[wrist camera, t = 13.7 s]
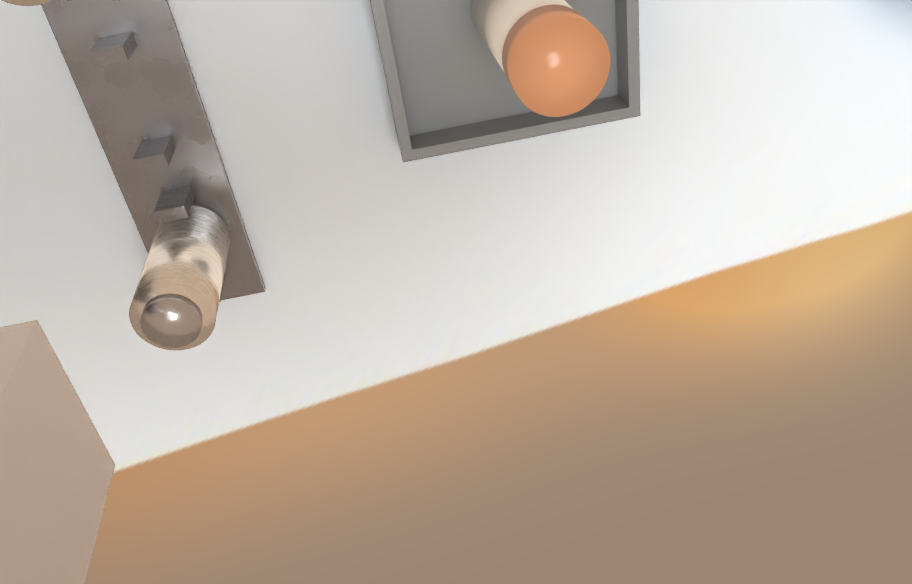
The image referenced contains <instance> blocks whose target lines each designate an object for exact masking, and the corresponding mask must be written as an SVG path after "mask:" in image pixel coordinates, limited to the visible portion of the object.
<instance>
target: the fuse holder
mask: <svg viewBox="0 0 912 584" xmlns="http://www.w3.org/2000/svg"><path fill="white" fill-rule="evenodd" d="M2 1H5V2H7V3H11V4H15V5H21V6H34V5H40V4H41V5H42V8H43V10H44V12H45V14H46V17H47V19H48V21H49V24H50V26H51V28H52V31H53V33H54V35H55V38H56V40H57V42H58V45H59V47H60V49H61V52H62V54H63V56H64V59H65V61H66V63H67V66H68V68H69V70H70V73H71V75H72V77H73V80H74V82H75V84H76V87H77V89H78V91H79V94H80V96H81V98H82V101H83V103H84V105H85V108H86V110H87V112H88V114H89V117H90V119H91V121H92V124H93V126H94V128H95V131H96V133H97V135H98V138H99V140H100V142H101V145H102V147H103V149H104V152H105V154H106V156H107V159H108V161H109V163H110V166H111V168H112V170H113V173H114V175H115V177H116V180H117V182H118V184H119V187H120V189H121V191H122V194H123V196H124V198H125V201H126V203H127V205H128V207H129V210H130V212H131V214H132V217H133V219H134V221H135V224H136V226H137V228H138V231H139V233H140V235H141V238H142V240H143V242H144V245H145V247H146V249H147V252H148V257H147V260H146V263H145V265H144V268H143V271H142V274H141V277H140V280H139V283H138V286H137V288H136V291H135V294H134V297H133V300H132V303H131V306H130V310H129V317H130V322H131V324H132V327H133V328H134V330H135V331H136V333H137V334H138V335H139V336H140V337H141V338H142V339H144V340H145V341H146V342H148V343H150V344H152V345H154V346H156V347H159V348H163V349H168V350H185V349H189V348H193V347H195V346H197V345H199V344H201V343H202V342H204V341H205V340H206V339H207V338H208V337H209V336H210V335H211V333H212V331H213V329H214V326H215V321H216V316H217V310H218V305H219V302H221V300H225V299H230V298H235V297H240V296H245V295H250V294H255V293H260V292H265V286H264V283H263V280H262V277H261V274H260V272H259V269H258V266H257V263H256V260H255V257H254V254H253V251H252V248H251V245H250V242H249V239H248V236H247V234H246V231H245V228H244V225H243V222H242V219H241V216H240V213H239V210H238V207H237V204H236V201H235V198H234V195H233V193H232V190H231V187H230V184H229V181H228V178H227V175H226V172H225V169H224V166H223V163H222V160H221V157H220V155H219V152H218V149H217V146H216V143H215V140H214V137H213V134H212V131H211V128H210V125H209V122H208V119H207V117H206V114H205V111H204V108H203V105H202V102H201V99H200V96H199V93H198V90H197V87H196V84H195V81H194V79H193V76H192V73H191V70H190V67H189V64H188V61H187V58H186V55H185V52H184V49H183V46H182V43H181V41H180V38H179V35H178V32H177V29H176V26H175V23H174V20H173V17H172V14H171V11H170V8H169V5H168V3H167V0H2Z"/></svg>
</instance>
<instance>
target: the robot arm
mask: <svg viewBox="0 0 912 584" xmlns="http://www.w3.org/2000/svg"><path fill="white" fill-rule="evenodd" d="M114 468H115V463H114V462H113V460H112V458H111V456H110V454H109V452H108V450H107V449H106V447H105V445H104V443H103V441H102V439H101V438H100V436H99V434H98V432H97V430H96V428H95V426H94V425H93V423H92V421H91V419H90V417H89V415H88V413H87V412H86V410H85V408H84V406H83V404H82V402H81V400H80V399H79V397H78V395H77V393H76V391H75V389H74V387H73V386H72V384H71V382H70V380H69V378H68V376H67V374H66V373H65V371H64V369H63V367H62V365H61V363H60V361H59V360H58V358H57V356H56V354H55V352H54V350H53V349H52V347H51V345H50V343H49V341H48V339H47V337H46V336H45V334H44V332H43V330H42V328H41V326H40V324H39V323H38V321H37V320H36V321H31V322H26V323H20V324H15V325H10V326H5V327H0V584H84V583H85V579H86V575H87V571H88V567H89V563H90V560H91V556H92V552H93V548H94V544H95V541H96V537H97V533H98V529H99V525H100V521H101V518H102V513H103V510H104V506H105V502H106V498H107V495H108V491H109V487H110V483H111V479H112V475H113V472H114Z"/></svg>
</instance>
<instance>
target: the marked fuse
mask: <svg viewBox="0 0 912 584" xmlns="http://www.w3.org/2000/svg"><path fill="white" fill-rule="evenodd" d="M471 16H472V20H473V23H474V25H475V27H476V29H477V31H478V32H479V34H480V35H481V37H482V39H483V40H484V42H485V43H486V45H487V46H488V48H489V49H490V51H491V53H492V54H493V56H494V57H495V59H496V60H497V62H498V64H499V65H500V67H501V68H502V70H503V71H504V73H505V76H506V78H507V80H508V81H509V83H510V84H511V86H512V88H513V89H514V91H515V92H516V94H517V95H518V97H519V98H520V100H521V101H522V102H523V104H524V105H525V106H526V107H528V108H529V109H530V110H532V111H534V112H535V113H538V114H540V115H544V116H548V117H562V116H567V115H571V114H573V113H576V112H578V111H580V110H582V109H583V108H585V107H586V106H588V105H589V104H590V103H591V102H592V101H593V100H594V99H595V98H596V97H597V96H598V95H599V93H600V92H601V90H602V89H603V87H604V85H605V83H606V80H607V78H608V74H609V69H610V52H609V48H608V45H607V43H606V40H605V39H604V37H603V35H602V34H601V33H600V31H599V30H598V29H597V28H596V27H594V26H593V25H592V24H591V23H590V22H589V21H588V20H587V19H586V18H585V17H584V16H582V15H581V14H580V13H579V12H577V11H576V10H574V9H573V8H572V7H571V6H570V5H569V4H568V3H567V2H566V1H564V0H471Z"/></svg>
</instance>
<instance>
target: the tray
mask: <svg viewBox="0 0 912 584" xmlns="http://www.w3.org/2000/svg"><path fill="white" fill-rule="evenodd" d="M370 1H371V6H372V11H373V16H374V21H375V26H376V31H377V36H378V41H379V46H380V51H381V56H382V61H383V66H384V71H385V76H386V81H387V86H388V91H389V96H390V100H391V105H392V110H393V115H394V120H395V125H396V130H397V135H398V140H399V145H400V150H401V155H402V160H403V162H407V161H412V160H417V159H423V158H428V157H433V156H438V155H443V154H448V153H453V152H458V151H463V150H468V149H474V148H479V147H484V146H489V145H494V144H499V143H504V142H509V141H514V140H519V139H524V138H530V137H535V136H540V135H545V134H550V133H555V132H560V131H565V130H570V129H575V128H580V127H586V126H591V125H596V124H601V123H606V122H611V121H616V120H621V119H626V118H631V117H637V116H640V71H639V8H638V0H564V1H566V2H567V3H568V4H569V5H570V6H571V7H572V8H573V9H574V10H576V11H577V12H579V13H580V14H581V15H582V16H584V17H585V18H586V19H587V20H588V21H589V22H590V23H591V24H592V25H593V26H594V27H596V28H597V29H598V30H599V31H600V33H601V34H602V35H603V37H604V39H605V40H606V43H607V45H608V48H609V52H610V69H609V74H608V78H607V80H606V83H605V85H604V87H603V89H602V90H601V92H600V93H599V95H598V96H597V97H596V98H595V99H594V100H593V101H592V102H591V103H590V104H589V105H588V106H586V107H585V108H583V109H582V110H580V111H578V112H576V113H573V114H571V115H567V116H562V117H548V116H544V115H540V114H538V113H535V112H534V111H532V110H530V109H529V108H528V107H526V106H525V105H524V104H523V102H522V101H521V100H520V98H519V97H518V95H517V94H516V92H515V91H514V89H513V88H512V86H511V84H510V83H509V81H508V80H507V78H506V76H505V73H504V71H503V70H502V68H501V67H500V65H499V64H498V62H497V60H496V59H495V57H494V56H493V54H492V53H491V51H490V49H489V48H488V46H487V45H486V43H485V42H484V40H483V39H482V37H481V35H480V34H479V32H478V31H477V29H476V27H475V25H474V23H473V20H472V16H471V0H370Z"/></svg>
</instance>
